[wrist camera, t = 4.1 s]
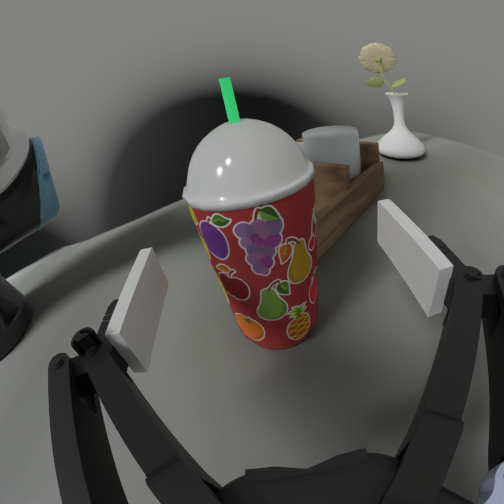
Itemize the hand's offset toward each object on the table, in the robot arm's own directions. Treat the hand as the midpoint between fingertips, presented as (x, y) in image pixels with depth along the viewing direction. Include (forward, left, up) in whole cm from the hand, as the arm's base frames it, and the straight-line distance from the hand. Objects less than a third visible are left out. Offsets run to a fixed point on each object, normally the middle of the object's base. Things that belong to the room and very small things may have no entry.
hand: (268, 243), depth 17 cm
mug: (-12, +27, -9) cm, 31 cm away
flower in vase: (-8, +52, -11) cm, 54 cm away
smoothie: (-3, +2, -11) cm, 12 cm away
